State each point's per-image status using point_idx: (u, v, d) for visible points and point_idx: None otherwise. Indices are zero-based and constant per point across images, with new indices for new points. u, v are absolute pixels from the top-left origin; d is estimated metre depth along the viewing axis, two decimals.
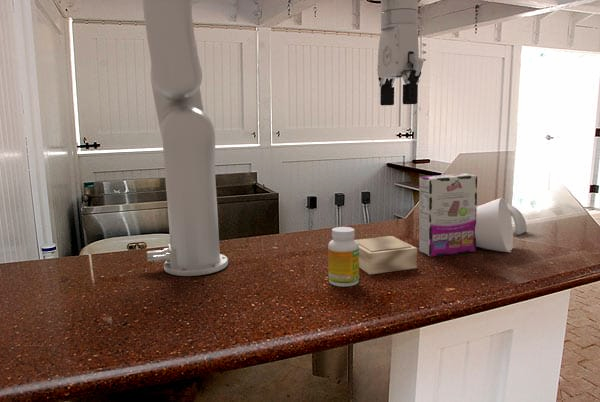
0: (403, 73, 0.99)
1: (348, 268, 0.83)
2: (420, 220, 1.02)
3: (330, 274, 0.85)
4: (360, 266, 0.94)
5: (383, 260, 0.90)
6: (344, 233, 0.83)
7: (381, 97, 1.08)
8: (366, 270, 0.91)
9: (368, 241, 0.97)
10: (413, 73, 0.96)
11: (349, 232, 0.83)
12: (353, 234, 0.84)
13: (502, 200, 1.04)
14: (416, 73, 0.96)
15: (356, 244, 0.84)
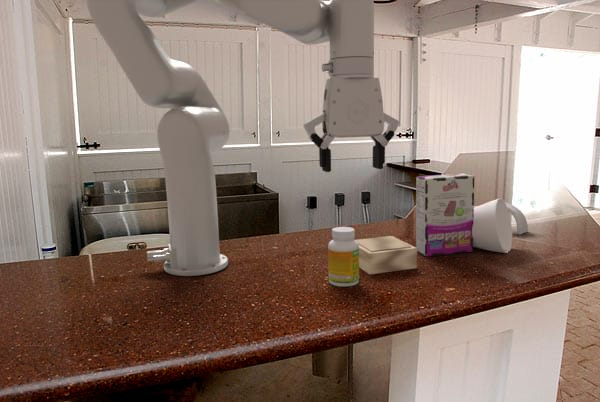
0: None
1: (348, 268, 0.83)
2: (417, 220, 1.02)
3: (330, 274, 0.85)
4: (360, 266, 0.94)
5: (383, 260, 0.90)
6: (344, 233, 0.83)
7: (329, 162, 0.83)
8: (366, 270, 0.91)
9: (368, 241, 0.97)
10: (393, 134, 0.86)
11: (349, 232, 0.83)
12: (353, 234, 0.84)
13: (501, 200, 1.04)
14: None
15: (356, 244, 0.84)
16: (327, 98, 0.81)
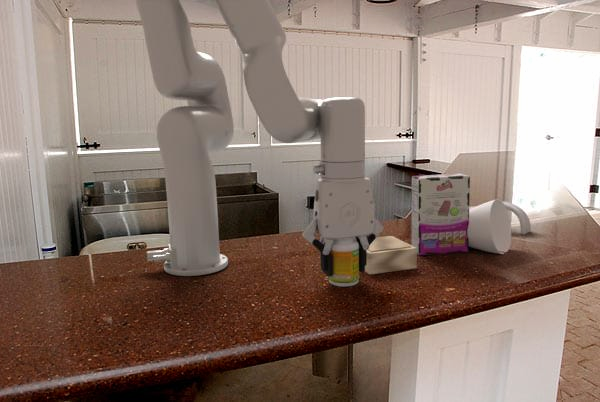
0: (364, 236, 0.85)
1: (348, 268, 0.83)
2: (412, 219, 1.03)
3: None
4: None
5: (383, 260, 0.90)
6: None
7: (331, 267, 0.83)
8: (366, 270, 0.91)
9: None
10: (374, 237, 0.86)
11: None
12: None
13: (499, 201, 1.03)
14: None
15: (356, 244, 0.84)
16: (319, 201, 0.81)
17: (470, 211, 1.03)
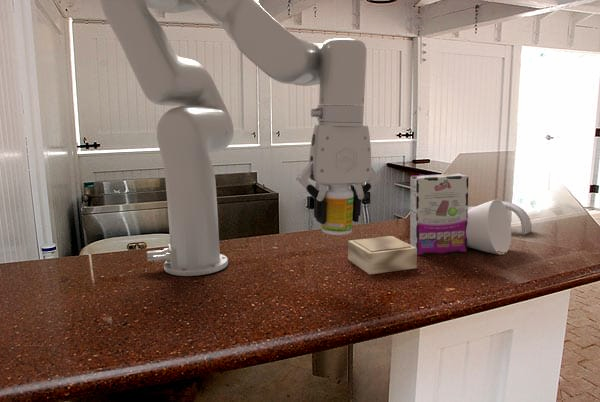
0: (359, 185, 0.83)
1: (342, 216, 0.82)
2: (411, 218, 1.04)
3: None
4: (360, 266, 0.94)
5: (383, 260, 0.90)
6: None
7: (324, 214, 0.82)
8: (366, 270, 0.91)
9: (368, 241, 0.97)
10: (370, 187, 0.85)
11: None
12: None
13: (499, 202, 1.03)
14: None
15: (351, 192, 0.83)
16: (315, 145, 0.79)
17: (469, 211, 1.03)
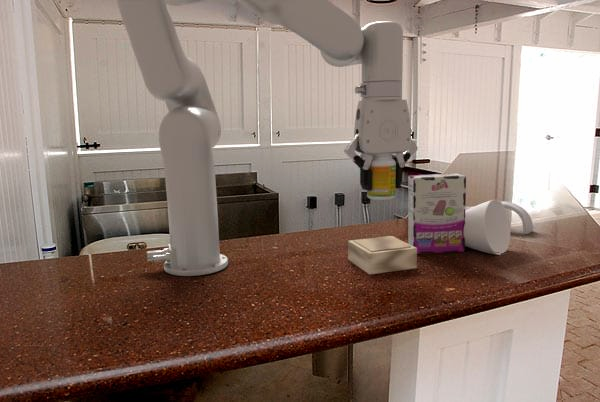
0: (400, 154, 0.92)
1: (386, 182, 0.90)
2: (408, 218, 1.04)
3: None
4: (360, 266, 0.94)
5: (383, 260, 0.90)
6: None
7: (370, 181, 0.91)
8: (366, 270, 0.91)
9: (368, 241, 0.97)
10: (409, 156, 0.93)
11: None
12: None
13: (497, 202, 1.02)
14: None
15: (393, 161, 0.91)
16: (360, 118, 0.88)
17: (467, 211, 1.03)
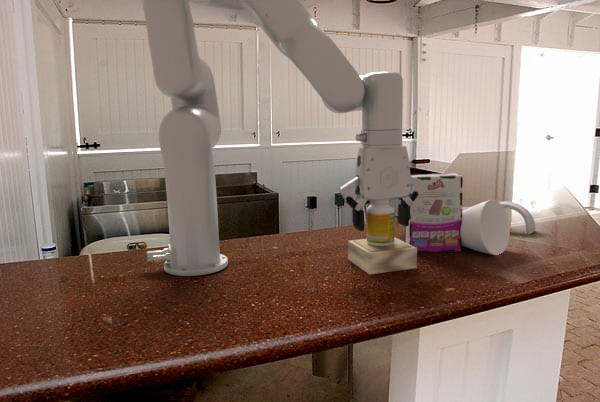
0: None
1: (386, 229, 0.92)
2: None
3: (369, 235, 0.94)
4: (360, 266, 0.94)
5: (383, 260, 0.90)
6: None
7: (362, 222, 0.92)
8: (366, 270, 0.91)
9: None
10: (417, 195, 0.95)
11: None
12: (390, 199, 0.93)
13: (496, 202, 1.02)
14: None
15: (392, 208, 0.93)
16: (361, 165, 0.90)
17: (465, 211, 1.03)
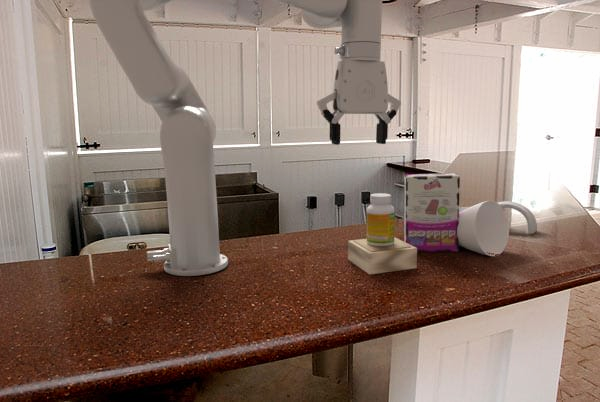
0: None
1: (386, 229, 0.92)
2: (404, 216, 1.06)
3: (369, 235, 0.94)
4: (360, 266, 0.94)
5: (383, 260, 0.90)
6: (382, 197, 0.92)
7: (339, 135, 0.93)
8: (366, 270, 0.91)
9: None
10: (395, 113, 0.96)
11: (387, 197, 0.92)
12: (390, 199, 0.93)
13: (494, 203, 1.02)
14: None
15: (392, 208, 0.93)
16: (339, 78, 0.91)
17: (463, 211, 1.03)
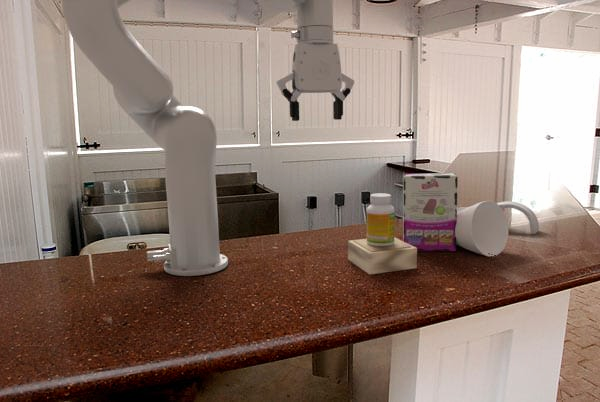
0: None
1: (386, 229, 0.92)
2: None
3: (369, 235, 0.94)
4: (360, 266, 0.94)
5: (383, 260, 0.90)
6: (382, 197, 0.92)
7: (298, 112, 1.02)
8: (366, 270, 0.91)
9: None
10: (349, 91, 1.05)
11: (387, 197, 0.92)
12: (390, 199, 0.93)
13: (493, 203, 1.01)
14: None
15: (392, 208, 0.93)
16: (295, 59, 1.00)
17: (461, 211, 1.03)
